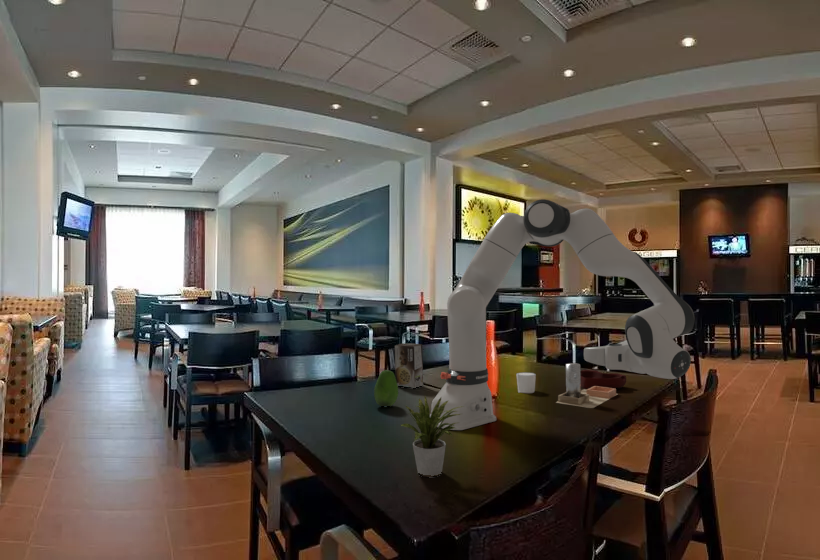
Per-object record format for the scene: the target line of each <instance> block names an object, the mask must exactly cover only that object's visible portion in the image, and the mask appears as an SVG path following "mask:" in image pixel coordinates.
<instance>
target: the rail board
mask: <svg viewBox="0 0 820 560" xmlns="http://www.w3.org/2000/svg"><path fill="white" fill-rule="evenodd" d="M617 395H619V394H618V393H616V395H614V396H613V397H611V398H609V399H608V398H601V397H594V396H589V394H587V389H581V397H580V398H575V397H568V396H566V391H565V392H563V393H561V394H558V395H557V401H556V402H555V404H562V405H569V406H573V407H575V406H576V407H582V408H587V409H594V408H596V407H597V406H599V405H601V404H603V403H605V402H607V401H608V400H610V399H612V398H614V397H616V396H617Z"/></svg>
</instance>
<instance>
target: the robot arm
mask: <svg viewBox="0 0 820 560" xmlns="http://www.w3.org/2000/svg"><path fill="white" fill-rule="evenodd" d="M563 241H565V242H567V243H568V244H569V245H570V246H571V248H572V250H573V251H574V252H575V254H576V256H577V257H578V259H579V261H580V263H581V264H582V265H583V266H584V268H585V269H586V270H587V271H588V272H590V273H592V274H594V275H596V276H600V277H619V278H626V279H629V280H631V281H632V282H634V283H635V284H636V285H637V286H638V287H639V288H640V289H641V290H642V292H643V293H644V294H645V295H646V297H647V298H649V300H650V301H651V302H652V303H653V305H652V306H650V307H648V308H646V309H644V310H640V311H639V312H636V313H634V314H633V315H631V316H629V317H628V318H626V319H627V320H626V322H625V325H624V333H625V340H624V341H620V342H618V343H613V344H609V345H608V344H607V345H603V346H592V347H591V346H590V347H587V346H586V347H584V349H583V359H584V361H586V362H587V363H590V364H594V365H597V366H603V367H605V368H606V369H607V370H610V371H611V370H613V371H616V370H617V371H626V372H631V373H637V374H642V375H643V374H647V375H648V376H651V377H655V378H660V379H666V380H667V379H668V380H670V379H671V380H674V379H679V378H681V377H683V376H684V375H685V374H686V373H687V372H688V371H689V369H690V366H691V363H692V357H691V355H690V353H689V352H688V351H687V350H686V349H684V348H682V347H681V346H680V345H679V344H678V343H676V341H675V340H674V339H675V338H679V337H681V336H684V335H687V334H689V333H691V331H692V330H693V328H694V325H695V313H694V310H693V309H692V307H691V306H690V304H689V303H687V301H686V300H684V299H683V298H681V296H679V295H678V294H676V292H674V291H673V289H672V288H671V287H670V286H669V284H667V283H666V281H665V280H664V279H663V278H662V277H661V276H660V275H659V273H657V271H656V270H655V269H654V268H653V267H652V266H651V264H650V263H649V262H648V261H647V260H646V259H645V258H644V257H643V256H642V255H640V254H639V253H638V252H637V251H632V250H631V249H630V248H628V247H626V246H625V245H624V244H623V243H622V242H621V241H620V240H619V239H618V238H617V236H616V235H615V233H613V231H612V229H611V228H610V226H609V225H608V224H607V223H606V222H605V221H604V219H602V217H600V215H599V214H597V213H596V211H594V210H593V209H591V208H588V207H587V208H580V209H578V210H575V211H574V212H570V210H569V209H568V208H566V207H564V206H562V205H560V204H558V203H556V202H554V201H552V200H549V199H538V200H534V201H533V202H531V203H530V204H529V205H528V206H527V207H526V209H525V210H524V214H523V215H520V214H519V213H514V212H506V213H503V214H501V215H500V216H499V218H498V219H497V220H496V221H495V222H494V223H493V225H492V226H491V227H490V229H489V231H488V232H487V233H486V235H485V236H484V239H483V241H482V242H481V243H480V245H479V247H478V249H477V250H476V251H475V254H474V255H473V257H472V259H471V261H470V262H469V264H468V266H467V268H466V269H465V271H464V273H463V274H462V277H461V278H460V280H459V281H458V284H457V285H456V287H455V288H454V290H453V291H452V292H451V293H450V295H449V297H448V299H447V303H446V307H447V311H446V313H447V329H448V330H447V333H448V353H449V354H448V356H449V357H448V360H449V361H448V363H449V364H448V366H449V367H448V368H447V372H445V371H441V374H440V378H441V380H445V383H444V385H443V386H442V387H441V389H440V390H439V391H438V393H437V394H436V396H435V397H434V398H433V399H432V402H431V408H430V416H431V413H432V411H433V409H434V407H435V405H436V404H437V402H438V400H439V399H440V398H441V402H440V404H439V407H440V406H441V405H442V404H443V403H444V402H446V401H448V400H449V401H448V402H447V404H446V405H445V407H444V411H445V412H444V411H443V413H442V414H441V416H440V418H441V417H442V416H443V415H444V414H445V413H446V411H449V410H451V409H453V408H456V407H460V408H456V409H454V410H452V411H457V412H453V413H451V414H450V415H453V414H460V415H455V416H452V417H449V418H446V419H445V420H444V421H443V423H442V424H444V423H449V424H452V423H456V424H453V425H454V426H455V427H454V426H453V425H452V427H454V429H450V430H452V431H463V430H467V429H470V428H475V427H478V426H482V425H485V424H488V423H492V422H496V421H497V415H495V414H494V407H493V397H492V391H491V389H490V387H489V386H488V381H489V371H488V368H487V319H486V318H487V312H486V311H487V307H488V305H489V303H490V301H491V300H492V299H493V297H494V295H495V293H496V291H497V290H498V289H499V287H500V285H501V284H502V283H503V281H504V279H505V277H506V276H507V274H508V273H509V271H510V269H511V268H512V266H513V265H514V262H515V261H516V259H517V258H518V256H519V254H520V252H521V251H522V249H523V247H524V246H525V245H526V244H527V243H528V244H530V245H531V244H532V245H537V246H540V247H549V248H550V247H552V248H553V247H556V246H558V245H560V244H561V243H562V242H563ZM461 406H464V407H461ZM438 409H439V408H438ZM452 411H451V412H452ZM449 413H450V412H449ZM447 414H448V413H447ZM447 414H446V415H447ZM446 415H445V416H446ZM441 422H442V421H441ZM441 422H440V423H439V424H438V425H437V427H436V428H438V427H439V425H440V424H441ZM448 426H449V425H445V426H443V427H442V428H441V429H443V428H445V427H448ZM455 428H456V429H455ZM450 430H449V431H450Z"/></svg>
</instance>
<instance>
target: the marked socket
mask: <svg viewBox="0 0 820 560" xmlns="http://www.w3.org/2000/svg"><path fill="white" fill-rule="evenodd" d="M586 390H587V394H589V396H594V397H601V398H608V399H609V398H610V399H612V398H614V397H615V396H614V395H616V394H617V389H615V388H607V387H599V386H593V387H591V388H589V389H586ZM613 396H614V397H613ZM616 396H617V395H616ZM611 397H612V398H611ZM610 399H609V400H610Z"/></svg>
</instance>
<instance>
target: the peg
mask: <svg viewBox="0 0 820 560" xmlns="http://www.w3.org/2000/svg"><path fill="white" fill-rule="evenodd" d="M580 371H581V364H580V363H576V362H574V363H573V362H567V363H565V387H566V389H565V390H566V391H565V392H566V396H568V397H575V398H580V397H581V390H582V387H581V378H580Z"/></svg>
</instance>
